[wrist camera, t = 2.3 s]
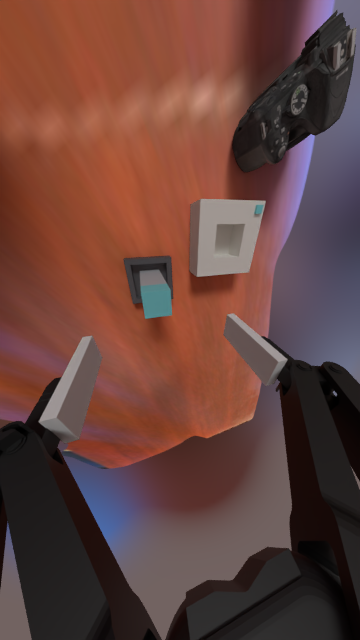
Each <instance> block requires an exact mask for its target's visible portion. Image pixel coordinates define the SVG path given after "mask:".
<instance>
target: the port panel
mask: <svg viewBox="0 0 360 640" xmlns="http://www.w3.org/2000/svg"><path fill="white" fill-rule="evenodd" d="M265 203H266V201H257V200H221V199H200V200H198V201H196V202H194V203H192V204H191V212H190V265H189V271H190V272H191V273H192V274H194V275H195V276H196V277H201V276H212V275H223V274H234V273H246V272H249V270H250V265H251V261H252V257H253V253H254V249H255V245H256V240H257V236H258V232H259V228H260V224H261V220H262V215H263V211H264V207H265Z"/></svg>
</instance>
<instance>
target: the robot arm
mask: <svg viewBox="0 0 360 640" xmlns="http://www.w3.org/2000/svg"><path fill="white" fill-rule="evenodd" d="M223 335H224V336H225V337H226V339H227V340H228V341H229V342H230V343H231V345H232V346H233V347H234V348H235V349H236V351H237V352H238V353H239V354H240V355H241V357H242V358H243V359H244V360H245V361H246V363H247V364H248V365H249V366H250V367H251V369H252V370H253V371H254V372H255V373H256V375H257V376H258V377H259V378H260V379H261V381H262V382H263V383H264V384H265V385H266V386H268V385H271V384H274V383H275V381H276V379H278V380H279V381H280V383H279V385H278V386H277V388H276V392H277V391H278V390H280V399H281V408H282V417H283V426H284V435H285V444H286V453H287V462H288V471H289V480H290V489H291V498H292V511H291V515H290V537H291V547H292V551H290V550H289V548H273V547H267V548H265V549H263V550H261V551H259V552H258V553H256V554H254V555H252V556H250V557H249V558H248V560H247V561H246V562H245V564H244V565H243V567H242V568H241V570H240V571H239V572H238V574H237V575H236V577H235V578H234V579H233V580H231V581H221V580H207V581H205V582H204V583H202V584H200V585H198V586H196V587H195V588H193V589H191V590H189V591H187V592H186V599H185V600H184V601H183V603H182V604H181V605H180V607H179V609H178V611H177V613H176V614H175V616H174V618H173V621H172V623H171V625H170V628H169V631H168V633H167V637H166V639H165V640H360V490H359V487H358V484H357V482H356V479H355V476H354V474H353V471H352V469H353V470H354V472H355V474H356V476H357V477H358V479H359V481H360V384H359V383H358V382H357V381H356V380H355V379H354V378H353V376H352V375H351V374H350V373H349V372H348V371H347V370H346V369H345V368H343V367H342V366H340V365H338V364H336V363H333V362H324V363H323V364H322V365H321V366H311V365H309V364H308V363H306V362H304V361H301V360H294V359H293V358H292V357H290V356H289V355H288V354H287V353H286V352H284V351H283V350H282V349H281V348H279V347H278V346H277V345H276V344H274V343H273V342H272V341H271V340H270V339H268V338H266V337H264V336H260V335H258V334H257V333H256V332H255V331H254V330H252V329H251V328H250V327H249V326H248V325H247V324H245V323H244V322H243V321H242V320H241V319H240V318H238V317H237V316H236V315H235V314H234V313H233V314H227V318H226V324H225V329H224V334H223ZM101 360H102V356H101V354H100V351H99V349H98V347H97V345H96V343H95V340H94V338H93V336H87V337H82V339H81V341H80V343H79V345H78V347H77V349H76V351H75V353H74V355H73V357H72V359H71V360H70V362H69V364H68V366H67V368H66V370H65V372H64V374H63V376H62V377H60V378H55V379H54V380H53V381H52V382H51V383H50V384H49V385H48V386H47V387H46V389H45V390H44V392H43V394H42V396H41V397H40V399H39V402H37V404H36V406H35V407H34V409H33V411H32V413H31V414H30V416H29V418H28V419H27V421H26V423H25V424H24V423H23V422H22V421H15V422H12V423H9V424H7V425H6V426H4V427H2V428H1V429H0V587H1V578H2V568H3V558H4V549H5V540H6V530H7V521H8V524H9V529H10V534H11V539H12V544H13V549H14V554H15V559H16V564H17V569H18V574H19V578H20V583H21V588H22V593H23V598H24V603H25V608H26V613H27V618H28V623H29V628H30V633H31V638H32V640H162V639H161V637H160V636H159V634H158V632H157V630H156V628H155V626H154V624H153V622H152V620H151V618H150V616H149V614H148V613H147V611H146V609H145V607H144V606H143V604H142V602H141V600H140V599H139V597H138V596H137V595H136V594H135V593H134V592H133V591H132V589H131V588H130V586H129V584H128V583H127V581H126V579H125V577H124V575H123V573H122V571H121V569H120V567H119V565H118V563H117V561H116V559H115V557H114V555H113V553H112V551H111V550H110V547H109V546H108V544H107V542H106V540H105V538H104V536H103V534H102V532H101V530H100V528H99V526H98V524H97V522H96V520H95V518H94V516H93V514H92V512H91V510H90V508H89V507H88V505H87V503H86V501H85V499H84V497H83V495H82V493H81V491H80V489H79V487H78V485H77V483H76V481H75V479H74V477H73V475H72V473H71V471H70V469H69V468H68V466H67V464H66V462H65V460H64V458H63V456H62V454H61V452H60V450H59V449H58V448H57V447H58V444H59V441H60V440H61V441H62V442H63V443H68V442H72V441H75V440H79V439H80V435H81V432H82V428H83V424H84V421H85V417H86V414H87V410H88V407H89V403H90V399H91V396H92V392H93V389H94V385H95V382H96V378H97V375H98V371H99V367H100V364H101ZM333 391H335V392H336V393H337V396H335V395H334V394H333ZM350 465H351V466H350ZM351 467H352V468H351Z"/></svg>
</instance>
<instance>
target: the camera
mask: <svg viewBox="0 0 360 640" xmlns="http://www.w3.org/2000/svg"><path fill="white" fill-rule="evenodd" d="M336 14H337V11H336V12H335V13H334V14H333V15H332V16H331V17H330V18H329V19H328V20H327V21H326V22H325V23H324V24H323V25H322V26H321V27H320V28H319V29H318V30H317V31H316V32H315V33H314V34H313V35H312V36H311V37H310V38H309V39H308V40H307V41H306V42H305V48H304V49H303V50H302V52H301V55H300V56H299V57H298V58H297V59H296V60H295V61H294V62H293V63H292V64H291V65H290V66H289V67H288V68H287V69H286V70H285V71H284V72H283V73H282V74H281V75H280V76H279V77H278V78H277V79H276V80H275V81H274V82H273V83H272V84H271V85H270V86H269V87H268V88H267V89H266V90H265V91H264V92H263V93H262V94H261V95H260V96H259V97H258V98H257V99H256V100H255V101H254V102H253V104H252V105H251V106H250V107H249V109H248V110H247V113H246V114H245V115H244V116H243V117H242V119H241V120H240V122H239V124H238V127H237V129H236V130H235V133H234V136H233V151H234V155H235V158H236V161H237V164H238V165H239V167H240V168H241V169H242V171H244V172H250V171H253V170H255V169H258V168H259V167H261V166H262V165H264V164H265V163H268V164H270V165H273V164H277V163H278V162H279V161H280V160H282V158H283V156H284V154H285V152H286V151H287V150H289V149H290V148H292V147H294V146H295V145H297V144H298V143H300V142H301V141H302V140H304V139H305V138H307V137H308V136H309V135H310V134H312V135H318V134H320V133H321V132H324V131H325V130H327V129H328V128H330V127H331V126H332V125H333V124H334V123H335V122H336V121H337V120H338V119H339V118H340V116H341V114H342V111H343V109H344V105H345V102H346V98H347V92H348V89H349V85H350V80H351V75H352V69H353V61H354V54H355V47H356V46H355V37H356V28H353V29H350V26H349V25H348V26H346V21H345V18H344V17H343V13H340V14H339V15H338V16H337V17H336Z"/></svg>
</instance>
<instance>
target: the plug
mask: <svg viewBox="0 0 360 640" xmlns="http://www.w3.org/2000/svg"><path fill="white" fill-rule="evenodd" d="M140 286H141V297H142V302H143V308H144V314H145V319H148V318H155V317H162V316H169V315H172V307H171V290H170V288H169V286H168V285H167V283H166V281H165V279H164V278H163V276H162V274H161V272H160V271H159V269H156V270H142V271H140Z"/></svg>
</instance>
